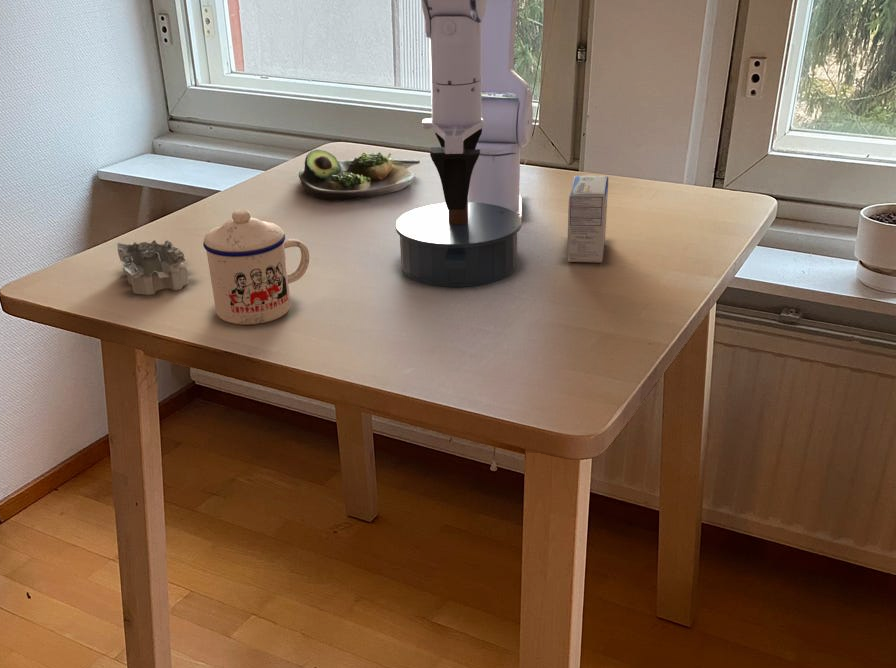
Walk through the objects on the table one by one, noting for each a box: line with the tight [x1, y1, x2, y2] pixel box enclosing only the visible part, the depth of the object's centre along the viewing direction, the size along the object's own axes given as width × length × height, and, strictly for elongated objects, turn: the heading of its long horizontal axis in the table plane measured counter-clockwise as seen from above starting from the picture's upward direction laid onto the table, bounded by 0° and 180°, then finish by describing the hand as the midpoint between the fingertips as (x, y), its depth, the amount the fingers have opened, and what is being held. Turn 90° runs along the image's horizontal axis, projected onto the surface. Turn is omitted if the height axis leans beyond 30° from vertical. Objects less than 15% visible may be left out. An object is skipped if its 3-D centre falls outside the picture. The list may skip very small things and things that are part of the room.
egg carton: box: [116, 239, 189, 296], centre depth 125 cm, size 11×8×4 cm
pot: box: [399, 233, 518, 288], centre depth 125 cm, size 14×20×5 cm
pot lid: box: [395, 199, 522, 248], centre depth 122 cm, size 15×15×4 cm
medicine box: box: [566, 174, 609, 264], centre depth 126 cm, size 8×4×9 cm, turn 168°
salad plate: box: [298, 149, 421, 202], centre depth 155 cm, size 19×18×5 cm
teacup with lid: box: [202, 209, 310, 326], centre depth 114 cm, size 12×9×12 cm
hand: (457, 198), depth 121 cm, fingers open, 7 cm apart
